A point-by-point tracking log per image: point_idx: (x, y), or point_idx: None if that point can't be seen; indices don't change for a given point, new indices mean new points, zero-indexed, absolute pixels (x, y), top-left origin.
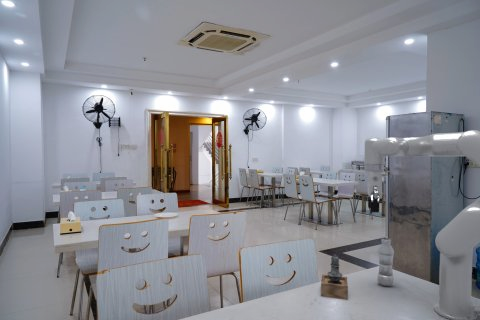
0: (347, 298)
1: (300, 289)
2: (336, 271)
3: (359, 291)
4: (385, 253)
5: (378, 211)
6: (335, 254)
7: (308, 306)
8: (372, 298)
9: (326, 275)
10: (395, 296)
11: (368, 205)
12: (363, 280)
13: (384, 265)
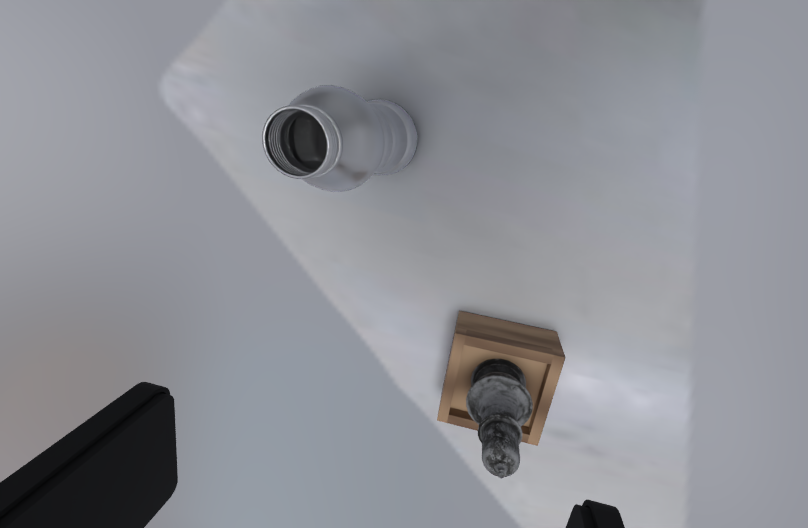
0: (557, 334)
1: (479, 462)
2: (517, 415)
3: (472, 267)
4: (379, 158)
5: (614, 524)
6: (503, 473)
7: (618, 464)
8: (537, 235)
9: (449, 408)
10: (509, 130)
11: (137, 524)
12: (352, 220)
13: (389, 156)
